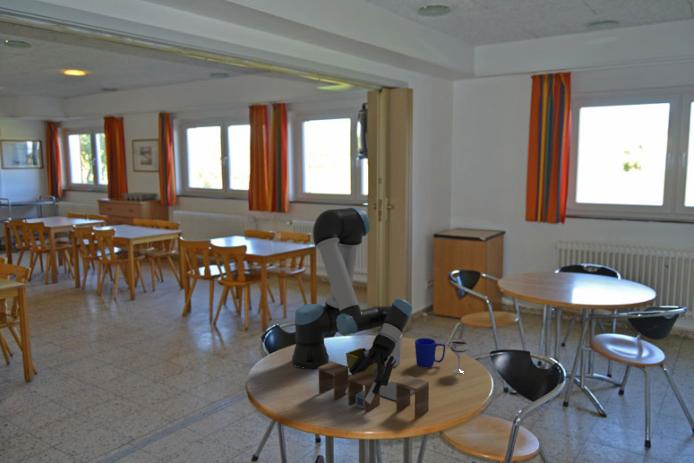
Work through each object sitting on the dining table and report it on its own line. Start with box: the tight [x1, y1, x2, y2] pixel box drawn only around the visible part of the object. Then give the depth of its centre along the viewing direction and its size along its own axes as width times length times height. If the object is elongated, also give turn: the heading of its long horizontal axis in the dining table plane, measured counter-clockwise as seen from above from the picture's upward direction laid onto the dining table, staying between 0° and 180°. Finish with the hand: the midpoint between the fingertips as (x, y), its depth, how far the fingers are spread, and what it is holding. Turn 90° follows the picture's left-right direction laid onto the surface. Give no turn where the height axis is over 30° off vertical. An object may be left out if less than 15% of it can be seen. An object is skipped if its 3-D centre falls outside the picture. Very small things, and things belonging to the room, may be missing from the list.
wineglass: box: [449, 338, 469, 374], centre depth 209 cm, size 7×7×12 cm
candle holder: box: [385, 333, 403, 368], centre depth 219 cm, size 10×10×12 cm
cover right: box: [395, 375, 430, 419], centre depth 177 cm, size 8×7×10 cm
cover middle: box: [347, 371, 381, 413], centre depth 182 cm, size 8×7×10 cm
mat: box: [380, 380, 415, 402], centre depth 192 cm, size 12×12×1 cm
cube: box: [355, 390, 365, 410], centre depth 182 cm, size 4×4×4 cm
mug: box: [414, 337, 446, 368], centre depth 216 cm, size 8×12×10 cm
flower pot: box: [345, 347, 376, 374], centre depth 207 cm, size 9×9×9 cm
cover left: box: [317, 361, 350, 401], centre depth 191 cm, size 8×7×10 cm
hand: (357, 398), depth 179 cm, fingers closed on cover middle, 8 cm apart
